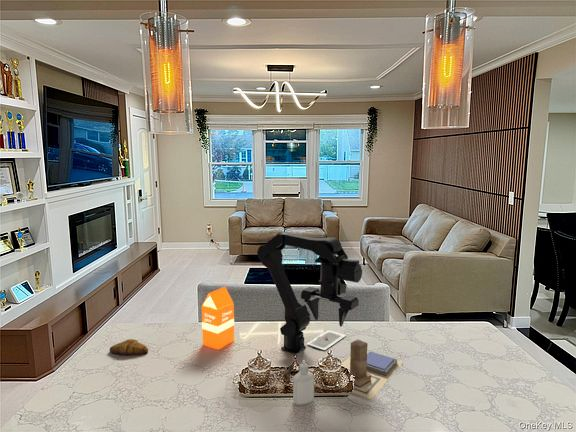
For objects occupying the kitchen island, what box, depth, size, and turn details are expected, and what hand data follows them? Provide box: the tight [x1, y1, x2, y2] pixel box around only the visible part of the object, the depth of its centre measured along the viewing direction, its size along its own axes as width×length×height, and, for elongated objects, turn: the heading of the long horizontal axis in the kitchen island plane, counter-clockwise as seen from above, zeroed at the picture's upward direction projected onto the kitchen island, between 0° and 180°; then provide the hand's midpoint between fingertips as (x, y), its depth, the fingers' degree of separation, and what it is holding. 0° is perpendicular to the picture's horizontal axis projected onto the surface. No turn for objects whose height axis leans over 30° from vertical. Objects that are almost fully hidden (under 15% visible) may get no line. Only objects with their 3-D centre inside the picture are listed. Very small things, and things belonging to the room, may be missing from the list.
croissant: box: [109, 338, 149, 356], centre depth 138 cm, size 14×7×5 cm, turn 86°
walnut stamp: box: [349, 339, 371, 388], centre depth 119 cm, size 6×6×12 cm
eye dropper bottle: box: [292, 359, 315, 406], centre depth 109 cm, size 4×6×12 cm
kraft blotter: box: [341, 350, 404, 400], centre depth 126 cm, size 16×26×1 cm, turn 145°
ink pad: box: [367, 350, 398, 376], centre depth 129 cm, size 10×10×2 cm
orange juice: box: [201, 286, 235, 350], centre depth 144 cm, size 8×9×20 cm
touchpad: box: [306, 329, 347, 351], centre depth 147 cm, size 8×15×2 cm, turn 142°
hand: (328, 322), depth 131 cm, fingers open, 9 cm apart
